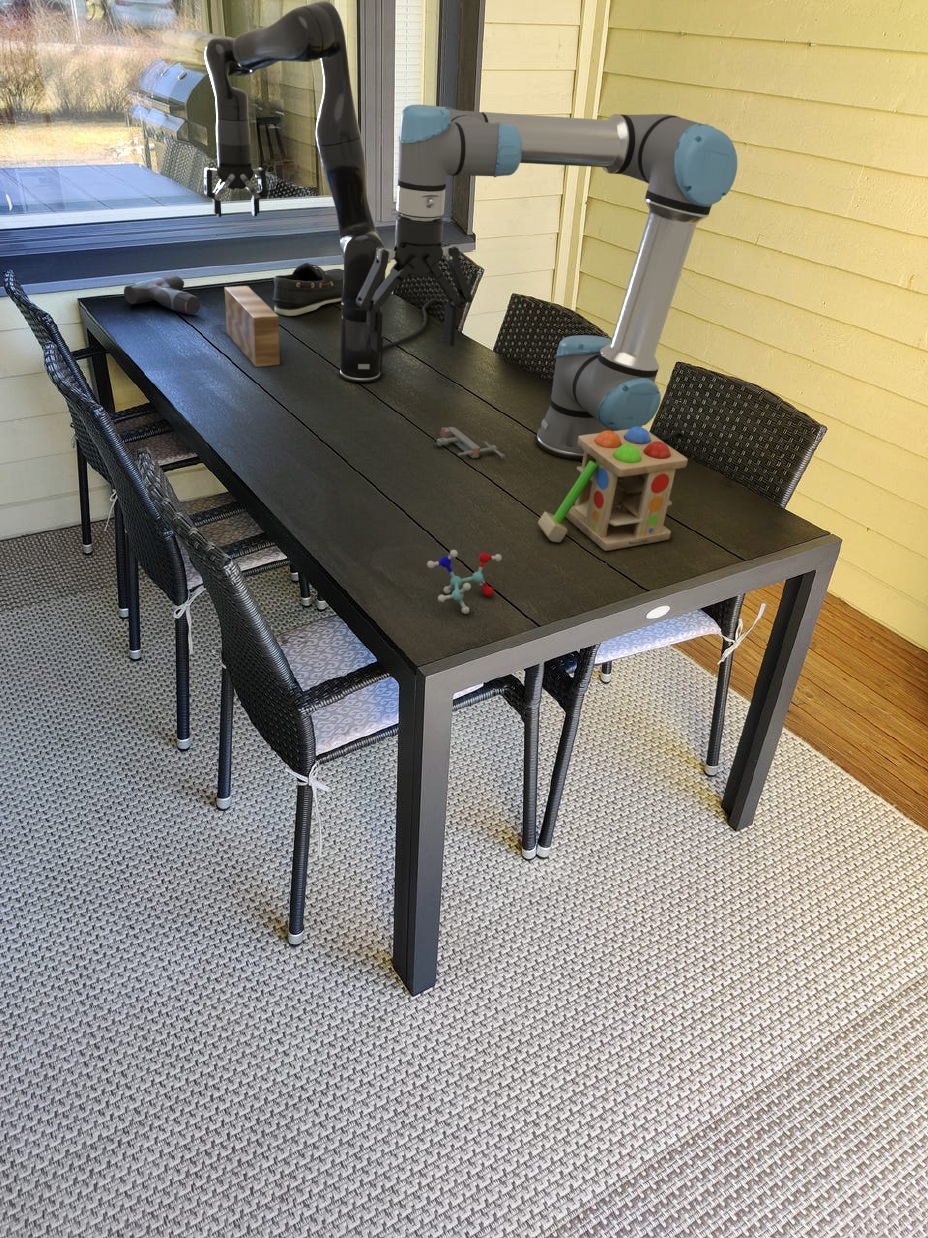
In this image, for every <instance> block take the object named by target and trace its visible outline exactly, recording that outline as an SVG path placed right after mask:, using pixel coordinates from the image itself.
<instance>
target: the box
mask: <svg viewBox="0 0 928 1238" xmlns="http://www.w3.org/2000/svg"><path fill="white" fill-rule="evenodd" d="M224 302H225V303H224V305H225V323H226V324H225V325H226V334H227V335H228V337H229V338H230V339H231V340H232V341H233V342H234V344H235V345H236V346H237V347H238V349H239V350H241V352H242V353H243V354H244V355H245V356H246V357H247V359H248V360H249V361H250V362H251V363H252V364H253V365H254V367H256V368H257V367H268V366H269V367H270V366H279V365H281V363H280V362H281V359H280V317H279V314H278V313H276V312H275V310H273V309H272V308H271V307H270V306H269V305H268V304H267V303H266V302H265V301H264V300H263V299H262V298H261V297H260V296H258V294H257V293H256V292H254V291H253V290H252V289H251V288H250V286H249V285H239V286H238V285H237V286H224Z"/></svg>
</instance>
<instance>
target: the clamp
mask: <svg viewBox="0 0 928 1238" xmlns="http://www.w3.org/2000/svg"><path fill="white" fill-rule="evenodd" d="M452 443H453V444H454V445H456V446H457V447H458V448H459V449H460V450H462V451H463V452H458V453H457V456H458V457H460V456H469V457H470V458H472V459H477V458H480V454H482V453H487V452H488V453H496V454H497V455H498V456H499V457H500V459H502V460H504V459H506V457H507V456H506V454H504V453H501V452H500V451H499V450H498V447H497V446H496V445H495V444H494V445H491V444H490V443H489V442H488V441H486V440H485V441H484V442H483V446H484V447H483V448H481V447H480V446H479V444H476V443H475V442H474V441H473V440H471V439H470V438H469V437H468V436H466V435H465V434H464V433H463V432H461V431H460V430H459V429H457V428H456V427H455V426H450V427H441V429H440V437H439V438H436V444H437V445H438V446H439V447H441V446H448V445H449V444H452Z"/></svg>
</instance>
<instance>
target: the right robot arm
mask: <svg viewBox="0 0 928 1238" xmlns="http://www.w3.org/2000/svg"><path fill="white" fill-rule="evenodd" d="M520 164H531V165H532V164H533V165H551V166H573V167H589V168H590V167H593V168H602V169H603V171H604V172H605V173H606V174H610V175H622V176H627V177H630V178H632V179H635V180H639V181H641V182H644V183H646V184H648V186H647V189H646V192H645V196H644V202H645V204H646V206H647V207H648V210H649V211H648V212H649V213H648V215H647V216H648V217H647V220H646V223H645V227H644V230H643V233H642V236H641V240H640V243H639V246H638V250H637V254H636V257H635V261H634V263H633V266H632V270H631V274H630V277H629V280H628V283H627V286H626V291H625V293H624V297H623V301H622V304H621V306H620V311H619V314H618V317H617V321H616V323H615V328H614V330H613V334H612V337H611V338H608V337H604V336H598V335H587V334H585V335H584V334H583V335H570V336H566V337H563V339H562V340H560V341H559V342H558V343H559V344H558V347H557V351H556V354H555V358H556V359H555V364H554V365H555V366H554V373H553V381H552V382H553V383H552V388H551V396H550V403H549V407H548V409H547V412H546V415H545V416H544V418H543V419H542V421H541V423H540V426H539V428H538V430H537V434H536V444H537V445H538V447H539V448H540V449H541V450H543V451H544V452H546V453H548V454H550V455H553V456H554V457H559V458H562V459H566V460H567V459H568V460H576V461H583V456H584V450H583V449H582V448H580V447H579V446H578V445H577V443H578V437H579V436H581V435H588V434H596V433H601V432H603V431H607V430H608V429H610V431H619V430H627V429H631V428H633V427H642V428H643V426H646V425H647V424H649V423H650V422H651V421H652V419H653V418H654V417H655V416H656V414H657V412H658V410H659V408H660V405H661V400H662V396H661V391H660V388H659V386H658V385H657V384H656V382H655V381H656V379H657V376H658V372H659V369H660V363H659V361H658V360H657V358H656V352H657V349H658V346H659V343H660V339H661V337H662V334H663V330H664V328H665V324H666V321H667V317H668V316H669V311H670V309H671V306H672V302H673V299H674V296H675V294H676V290H677V287H678V284H679V281H680V277H681V276H682V275H681V274H682V271H683V268H684V265H685V262H686V259H687V256H688V252H689V249H690V246H691V243H692V240H693V237H694V233H695V231H696V227H697V225H698V224H699V223H700V222H702V221H703V220H704V219H707V218H708V217H709V216H710V213H711V209H712V207H713V205H715V204H717V203H719V202H720V201H721V200H722V199H723V197H724V196H727V195H728V193H729V192H730V190H731V189H732V187H733V185H734V182H735V180H736V176H737V171H738V155H737V150H736V148H735V146H734V143H733V140H732V139H731V137H729V136H728V135H727V134H726V133H725V132H724V131H722V130H720V129H718V128H716V127H714V126H713V125H710V124H708V123H701V122H697V121H694V120H690V119H688V118H687V119H686V118H683V117H680V116H678V115H674V114H670V113H669V114H668V113H667V114H665V113H655V114H654V113H652V114H651V113H650V114H619V113H614V114H612V115H610V116H609V117H608V118H607V119H598V118H597V119H596V118H579V117H565V116H563V117H562V116H552V115H551V116H549V115H536V114H535V115H533V114H522V113H521V114H519V113H505V112H491V111H473V110H461V109H456V108H455V107H452V106H438V105H428V104H409V105H407V106H405V107H404V108H403V109H402V112H401V117H400V122H399V135H398V170H397V171H398V174H397V175H398V176H397V187H396V188H397V191H396V211H397V212H398V214H397V216H396V217H395V234H394V235H395V236H394V237H395V245H394V247H393V249H392V248H391V249H390V248H385V249H384V248H382V247H380V246H379V247H377V249H376V255H375V261H374V263H373V266H372V268H371V270H370V272H369V274H368V276H367V278H366V280H365V283H364V285H363V287H362V289H361V291H360V293H359V295H358V297H357V299H356V304H357V305H358V306H359V307H360V308H362V309H363V310H367V324H366V326H367V329H368V330H369V331H370V332H371V348H372V349H373V350H374V351H375V352H377V353H380V352H381V340H382V335H383V312H382V313H381V312H380V311H379V309H380V308H381V306H382V307H383V306H384V304H385V303H386V302H387V300H388V299H389V298H390V296H391V295H392V294H393V293H394V291H395V290H396V289H397V287H398V286H399V285H400V283H402V281H404V280H406V278H408V277H409V278H417V277H423V278H425V277H429V275H430V276H431V277H432V278H433V279H434V281H435V282H436V284H437V285H438V287H440V289H441V291H442V292H443V293H444V295H445V296H446V298H447V300H449V302H450V303H445V309H444V310H445V311H444V324H443V336H442V337H443V339H442V342H443V343H445V344H446V345H447V346H448V347H454V346H455V337H456V326H460V323H461V313H462V309H464V308H465V306H466V304H467V303H468V304H471V303H472V302H473V295H472V292H471V290H470V287H469V284H468V282H467V279H466V275H465V273H464V271H463V268H462V264H461V263H460V249H459V248H458V247H457V246H455V245H453V244H452V243H447V244H446V246H442V241H443V232H444V220H443V218H442V216H443V215H444V214H445V200H446V187H447V178H448V176H451V177H453V176H456V177H457V176H465V177H493V178H497V177H506V176H507V177H508V176H512V175H513V174H515V173H516V171H517V170H518V169H519V167H520ZM442 258H443V259H444V260H446V263H447V266H448V268H449V271H450V273H451V277H452V279H453V281H454V284H455V287H456V289H457V292H456V290H455V289H454V287H453V286H452V285H451V283H450V282H449V280H448V279H447V277H446V275H444V272H443V271H442V269H441V268H440V267H439V265H438V264H439V262H441V260H442ZM393 259H394V261H395V263H394V264H393V266H391V268H390V270H389V273H388V274H387V276H385V280H384V281H383V282H382V284H381V285H380V286H379V288H378V289H377V287H378V285H379V283H380V281H381V279H382V277H383V275H384V273H385V270H386V271H387V268H388V264H390V263H392V260H393ZM385 274H386V273H385ZM376 289H377V290H376ZM677 431H678V430H674V431H673V432H672V433H671V434H669V435H668V436H664V437H659V436H656V437H657V438H658V439H660V440H661V441H663V442H665V441H669V440H671V439H672V438H673V437H675V436H676V435H679V436H680V437H684V436H685V434H684V433H683V432H682V431H681V433H677Z"/></svg>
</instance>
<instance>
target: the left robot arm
mask: <svg viewBox="0 0 928 1238" xmlns="http://www.w3.org/2000/svg"><path fill="white" fill-rule="evenodd" d="M346 40H347V39H346V33H345V28H344V25H343V21H342V18H341V15H340V13H339V11H338V10H337V8H336V7H335V6H334V4H333V3H331V2H329V1H326V0H321V1H318V2H313V3H309V4H306V5H302V6H298V7H295V8H293V9H292V10H289V12H286V14H284V15H283V16H281V17H280V18H279V19H277V21H275V22H274V23H272V24H270V25H269V26H267V27H257V28H255V29H254V28H253V29H251V30H248V31H245V32H242V33H241V34H239V35H237V37H236V38H212V39H209V41H208V42H207V44H206V47H205V50H204V62H205V65H206V68H207V72H208V74H209V75H208V76H209V79H210V82H211V85H212V90H213V93H214V97H215V114H216V122H215V139H216V155H217V167H216V168H210V167H207V166H206V167H204V168H203V194H204V195H205V196H206V197H208V198H210V199H211V200H212V210H213V213H214V215H216V216H217V218H222V201H221V197H222V196H223V194H225V193H226V191H227V190H228V189H229V190H236V189H238V190H244V189H245V188H246V190H247V191H248V192H249V194H250V195H251V196H252V197H251V198H250V199H251V200H250V202H251V203H250V204H251V216H252V217H258V214H260V210H261V209H260V199H261V198H266V197H267V196H268V186H267V174H266V170H265V169H264V168H263V167H259V166H258V167H257V168H253V166H252V145H251V144H252V143H251V126H250V121H249V98H248V94H247V92H246V91H245V90H244V89H242V88H238V87H234V86H232V84H231V82H230V79H229V77H244V76H245V77H246V76H250V75H252V74H254V73H255V72H256V71H257V70H261V69H264V68H267V67H270V66H273V65H275V64H276V63H279V62H298V63H312V62H315V61H318V60H320V64H321V70H322V77H323V90H322V97H321V100H320V105H319V108H318V114H317V120H316V124H315V140H316V145H317V149H318V153H319V157H320V162H321V166H322V169H323V173H324V176H325V180H326V183H327V186H328V189H329V192H330V195H331V197H332V201H333V204H334V208H335V213H336V220H337V226H338V236H339V245H340V247H339V248H340V254H341V256H342V258H343V270H344V283H343V289H342V298H341V301H340V302H341V307H340V308H341V310H340V311H341V312H340V314H341V315H340V322H341V323H340V369H339V376H340V377H341V378H342V380H345V381H348V382H352V383H359V384H360V383H361V384H364V383H365V384H366V383H367V384H369V383H373V382H376V381H378V380H380V378H381V375H382V374H383V353H384V350H386V349H390V348H393V347H396V346H398V345H400V344H403V343H406V342H408V341H410V340H412V339H414V338H415V337H417V336H418V335H420V334H421V333H423V331H424V330H425V328H426V327H427V324H428V314H427V311H426V309H427V308H428V307H429V306H430V305H432V304H433V303H436V304H438V305H440V304H441V301H440V300H439V301H437V299H438V298H437V297H435V298H431V299H429V300H428V301H427V302H425V304H424V305H423V306H422V308H421V312H422V314H423V323H422V325H421V326H420V327H419V328H418V330H415V332H413V333H412V334H409V335H407V336H405V337H403V338H400V339H398V340H396V341H392V342H389V343H386V344H384V335H383V334H382V340H381V352H380V353H377V352H375V351H374V350H373V349H372V348H371V332H370V331H369V330H368V329H367V326H366V324H367V310H363V309H362V308H360V307H359V306H358V305H357V304H356V299H357V297H358V295H359V293H360V291H361V289H362V287H363V285H364V283H365V280H366V278H367V276H368V274H369V272H370V270H371V268H372V266H373V263H374V261H375V255H376V249H377V247H379V246H380V247H382V248H384V249H386V247H385V244H384V241H382V239H381V237H380V235H379V234H378V231H377V229H376V226H375V223H374V219H373V216H372V212H371V209H370V204H369V198H368V181H367V178H368V177H367V164H366V156H365V150H364V149H365V148H364V144H363V140H362V139H363V138H362V136H361V131H360V130H361V129H360V126H359V122H358V117H357V113H356V112H357V111H356V106H355V102H354V101H355V100H354V96H353V90H352V83H351V75H350V66H349V58H348V49H347V41H346ZM215 176H217V177H218V178H219V181H218V183H217V184H216V187H215V189H214V190H213V180H214V179H215ZM254 176H255V178H256V179H257V182H258V190H256V188H255V187H254V185H253V184H252V183H251V180H252V178H253V177H254ZM386 271H387V269H386V270H385V273H384V275H383V277H382V279H381V281H380V283H379V285H378V287H377V289H378V288H379V286H380V285H381V284H382V282H383V281H384V280H385V279H386V273H387V272H386ZM377 289H376V290H377ZM436 301H437V302H436ZM379 311H380V312H381V313H382V314H383V305H382V306H381V308H380V309H379Z"/></svg>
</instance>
